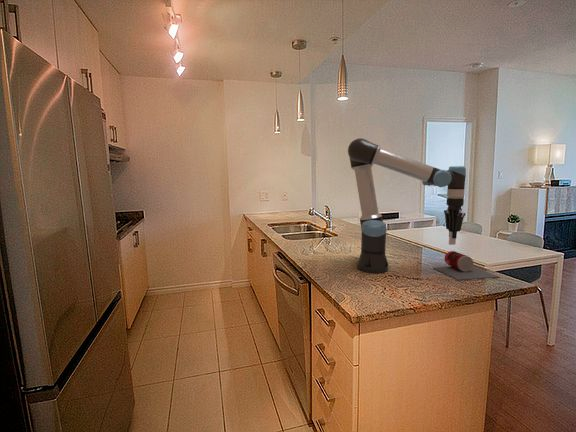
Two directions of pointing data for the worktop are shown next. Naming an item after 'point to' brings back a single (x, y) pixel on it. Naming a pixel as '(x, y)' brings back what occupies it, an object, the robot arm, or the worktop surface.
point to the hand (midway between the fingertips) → (452, 244)
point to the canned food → (459, 261)
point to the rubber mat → (465, 273)
